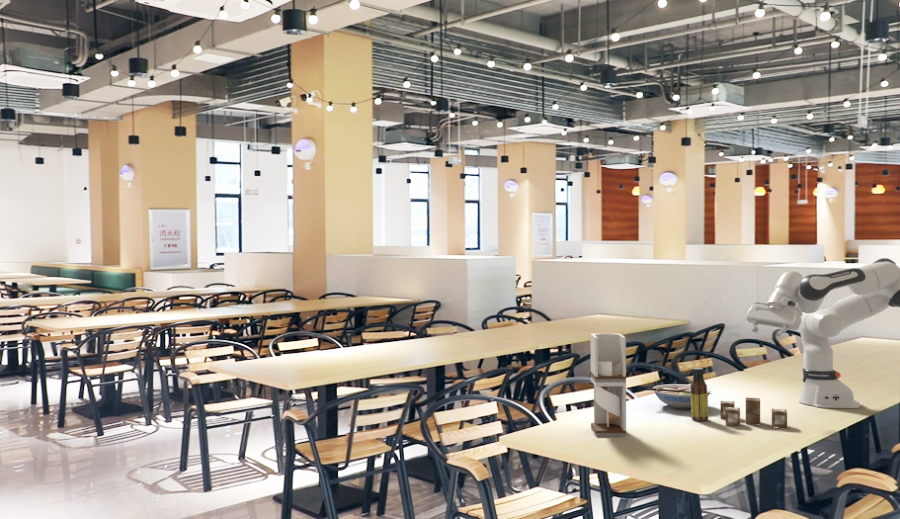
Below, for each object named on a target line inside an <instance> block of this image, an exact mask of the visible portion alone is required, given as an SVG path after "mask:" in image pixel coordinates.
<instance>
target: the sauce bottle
mask: <svg viewBox="0 0 900 519" xmlns="http://www.w3.org/2000/svg"><path fill="white" fill-rule="evenodd" d="M691 371H692V377H693V378H692V381H691V383H690V384H689V385H690V387H691V408H690V411H691V414H690V415H691V420H693V421H694V420H695V422H706V421H708V420H709V400H708V399H709V396H708V393H707V388H708V385H707V383H706V381H705V380H704V368H703V367H692V370H691Z"/></svg>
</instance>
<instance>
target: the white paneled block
mask: <svg viewBox="0 0 900 519" xmlns="http://www.w3.org/2000/svg"><path fill="white" fill-rule="evenodd" d="M726 407H734V408H735V401H732V400H720V420H726Z"/></svg>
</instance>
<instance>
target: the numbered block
mask: <svg viewBox="0 0 900 519" xmlns="http://www.w3.org/2000/svg"><path fill="white" fill-rule="evenodd" d="M772 427H778V428H777V429H781V428H787V429H788V410H787V409H782V408H771V428H772Z"/></svg>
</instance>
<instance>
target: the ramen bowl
mask: <svg viewBox="0 0 900 519" xmlns="http://www.w3.org/2000/svg"><path fill="white" fill-rule="evenodd" d="M690 385H691V384H682V383H681V384H680V383H679V384H677V383H669V384H666V383H665V384H660V385H655V386H653V387H647V388H646V391H653V392H654V394H655V395H656V397H657V398H658V399H659V401H661V402H662V403H664V404H666V405H668V406H671V408H675V409H678V408H679V410H685V409H686V410H687V409H691V387H690ZM707 393H708V397H709V396H710V395H712V393H711V389H710V388H708V387H707Z"/></svg>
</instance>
